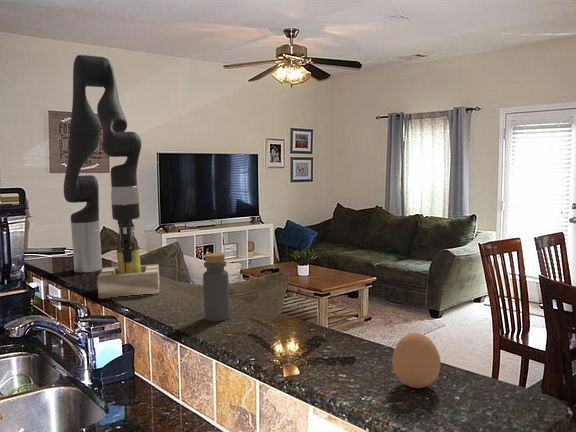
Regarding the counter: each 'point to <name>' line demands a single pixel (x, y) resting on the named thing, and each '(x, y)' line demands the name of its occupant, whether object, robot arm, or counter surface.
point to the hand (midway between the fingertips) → (128, 260)
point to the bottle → (216, 288)
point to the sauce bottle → (135, 264)
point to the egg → (416, 360)
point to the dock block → (128, 282)
